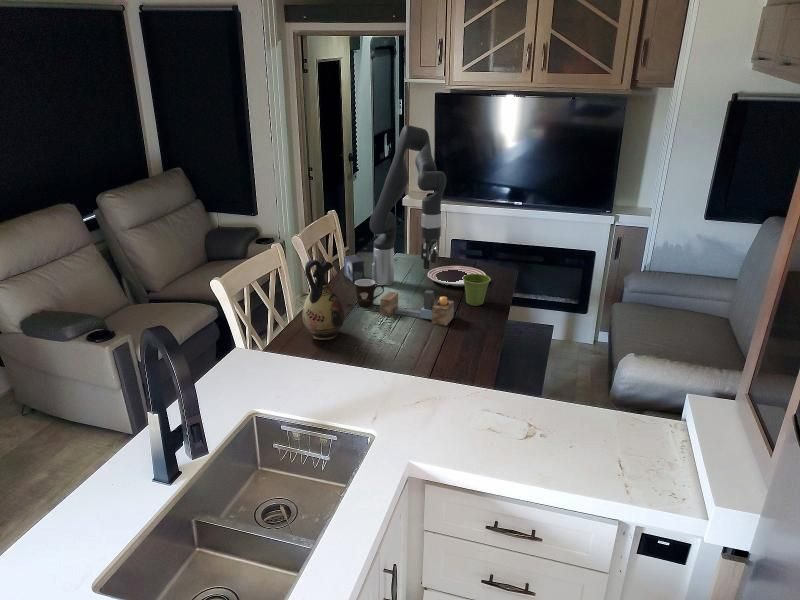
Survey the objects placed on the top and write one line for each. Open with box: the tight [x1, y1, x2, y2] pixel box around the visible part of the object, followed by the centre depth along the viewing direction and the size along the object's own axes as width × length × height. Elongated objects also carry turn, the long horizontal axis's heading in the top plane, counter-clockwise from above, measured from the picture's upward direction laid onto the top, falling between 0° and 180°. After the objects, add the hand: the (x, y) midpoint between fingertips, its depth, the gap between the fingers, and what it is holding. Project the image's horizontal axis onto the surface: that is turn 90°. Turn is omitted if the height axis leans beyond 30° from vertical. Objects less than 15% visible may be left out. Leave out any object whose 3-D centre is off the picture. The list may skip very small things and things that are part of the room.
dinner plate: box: [427, 265, 487, 287], centre depth 278 cm, size 28×27×3 cm
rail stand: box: [380, 291, 455, 326], centre depth 237 cm, size 28×9×7 cm, turn 68°
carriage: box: [420, 289, 435, 320], centre depth 234 cm, size 5×5×10 cm
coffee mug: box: [354, 278, 385, 308], centre depth 247 cm, size 12×9×10 cm
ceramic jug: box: [302, 259, 345, 341], centre depth 215 cm, size 17×15×30 cm
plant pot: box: [462, 274, 492, 307], centre depth 249 cm, size 12×12×11 cm
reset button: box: [439, 296, 448, 306], centre depth 231 cm, size 3×3×4 cm
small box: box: [343, 254, 365, 283], centre depth 277 cm, size 11×6×10 cm, turn 28°
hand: (430, 265), depth 228 cm, fingers open, 8 cm apart
